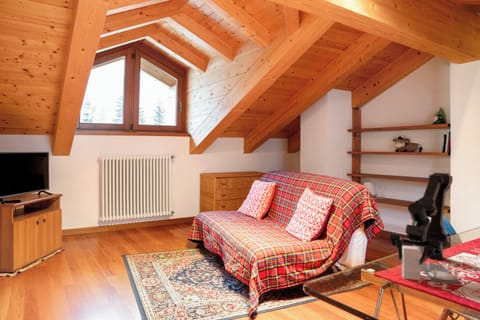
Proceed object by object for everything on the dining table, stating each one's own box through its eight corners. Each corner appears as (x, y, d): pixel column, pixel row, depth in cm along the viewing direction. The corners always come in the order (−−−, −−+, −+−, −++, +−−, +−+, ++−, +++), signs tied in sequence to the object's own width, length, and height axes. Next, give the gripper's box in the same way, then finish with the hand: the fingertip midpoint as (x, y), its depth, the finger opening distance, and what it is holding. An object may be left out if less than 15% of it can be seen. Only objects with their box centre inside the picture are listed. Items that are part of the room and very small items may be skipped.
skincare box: (417, 276, 134) (418, 246, 133) (420, 280, 130) (421, 249, 129) (401, 274, 135) (401, 245, 135) (403, 278, 131) (403, 248, 131)
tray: (418, 265, 146) (418, 254, 145) (441, 267, 144) (441, 256, 144) (433, 282, 128) (433, 269, 128) (459, 284, 126) (459, 271, 126)
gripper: (391, 213, 141) (380, 245, 133) (442, 220, 128) (433, 256, 120) (397, 228, 147) (387, 260, 139) (446, 237, 134) (438, 272, 127)
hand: (409, 261), depth 131 cm, fingers open, 7 cm apart
